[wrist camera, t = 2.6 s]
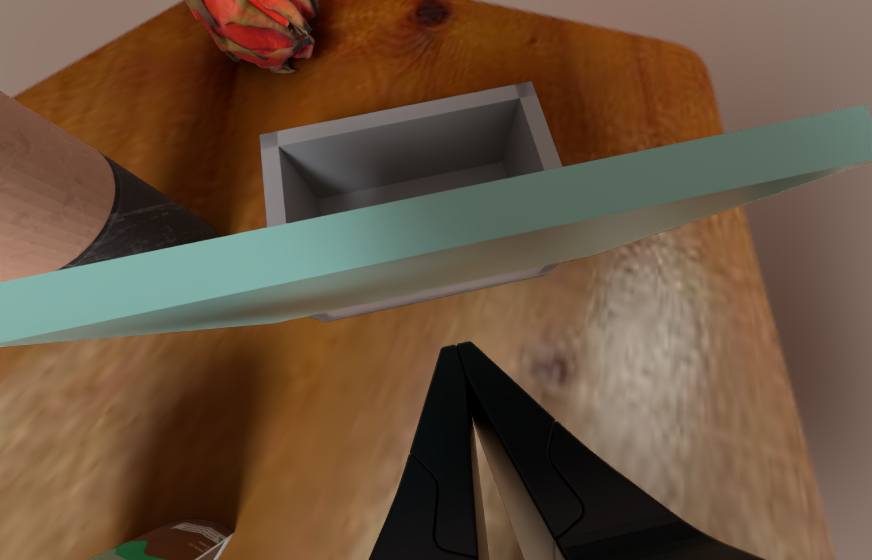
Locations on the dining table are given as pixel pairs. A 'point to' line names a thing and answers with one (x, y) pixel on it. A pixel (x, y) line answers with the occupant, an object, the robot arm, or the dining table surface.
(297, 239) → the mint green lid
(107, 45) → the dining table surface
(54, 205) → the travel mug
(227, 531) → the food container
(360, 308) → the grey rectangular box
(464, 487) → the robot arm
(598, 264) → the dining table surface
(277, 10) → the dragon fruit
